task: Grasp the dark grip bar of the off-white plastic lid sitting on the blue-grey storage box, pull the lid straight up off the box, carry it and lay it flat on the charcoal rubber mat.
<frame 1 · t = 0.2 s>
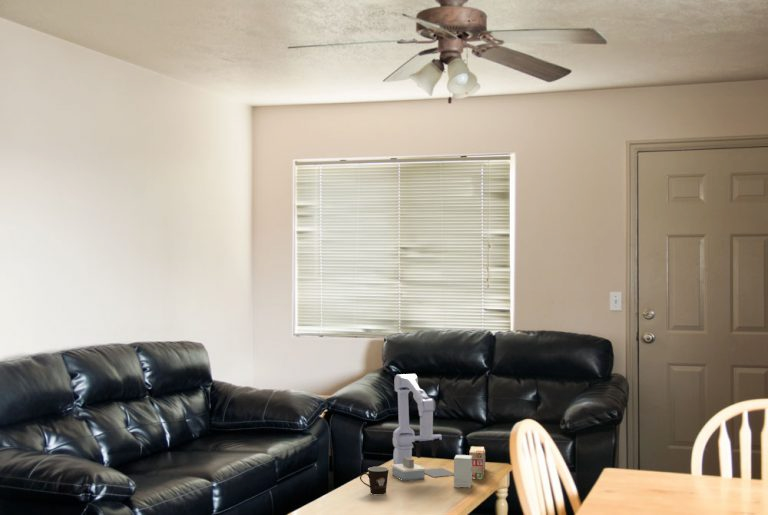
hand: (426, 456, 396), 10 cm above the table, tool pointing down, fingers open, 7 cm apart
box: (408, 477, 400), on the table
mat: (437, 473, 408), on the table
coffee mug: (374, 493, 372), on the table
lid: (408, 468, 400), point 4 cm above the table, touching box
stack of blocks: (477, 474, 408), on the table
supplement box: (462, 486, 385), on the table
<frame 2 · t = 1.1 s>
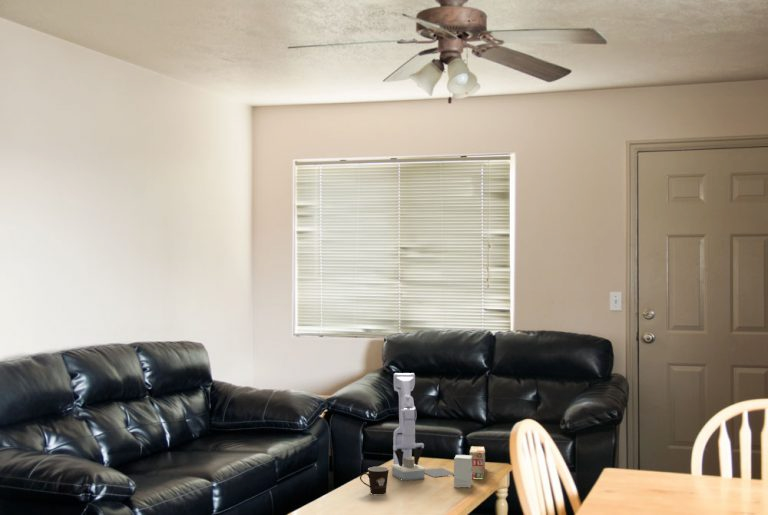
hand: (408, 465, 400), 5 cm above the table, tool pointing down, fingers open, 7 cm apart
nothing on the table moved.
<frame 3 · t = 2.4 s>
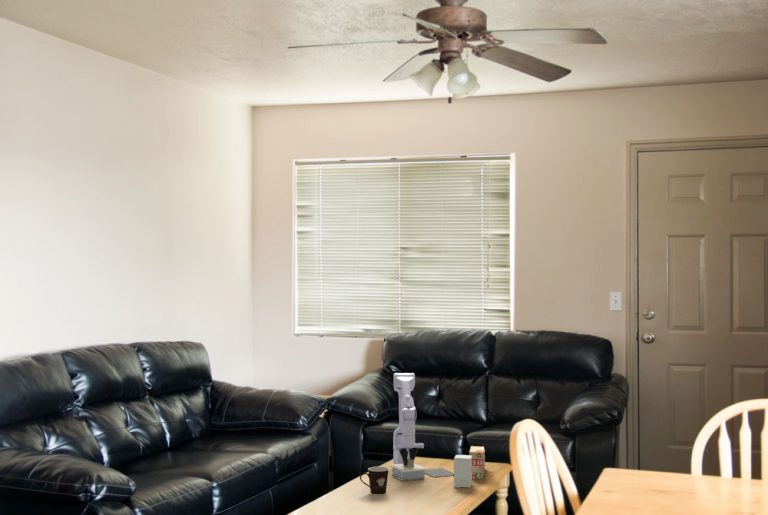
hand: (408, 465, 400), 5 cm above the table, tool pointing down, fingers closed on lid, 2 cm apart
lid: (408, 468, 400), point 4 cm above the table, touching box, gripper
everything else where it was.
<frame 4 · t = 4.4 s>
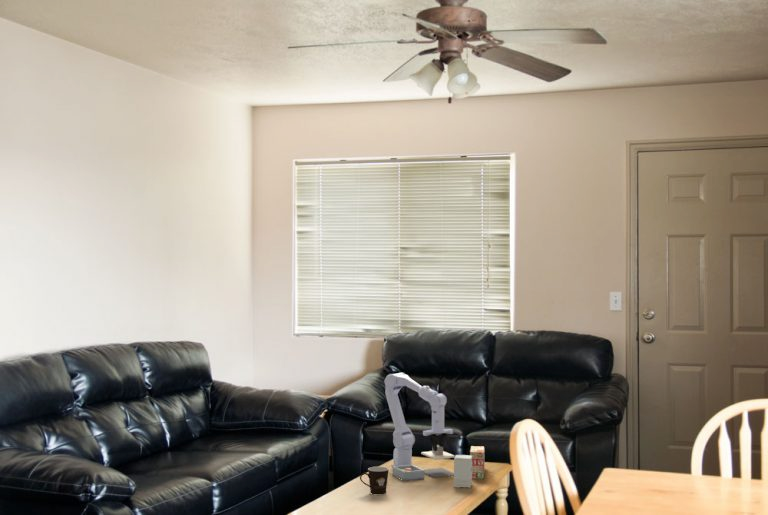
hand: (437, 450, 409), 10 cm above the table, tool pointing down, fingers closed on lid, 2 cm apart
lid: (437, 455, 409), point 8 cm above the table, touching gripper
everything else where it was.
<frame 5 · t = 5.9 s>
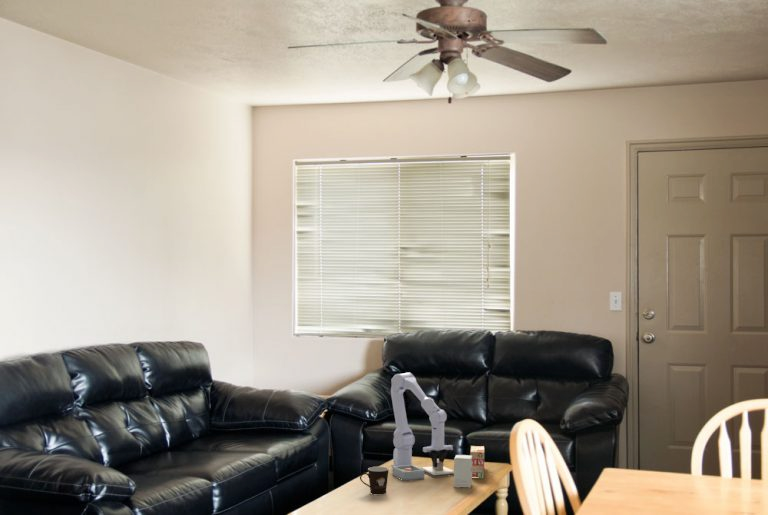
hand: (437, 466, 408), 3 cm above the table, tool pointing down, fingers closed on lid, 2 cm apart
lid: (437, 471, 409), point 1 cm above the table, touching gripper, mat
when the fingers open (3 cm above the table, at t = 6.5 s): lid stays where it is, resting on mat.
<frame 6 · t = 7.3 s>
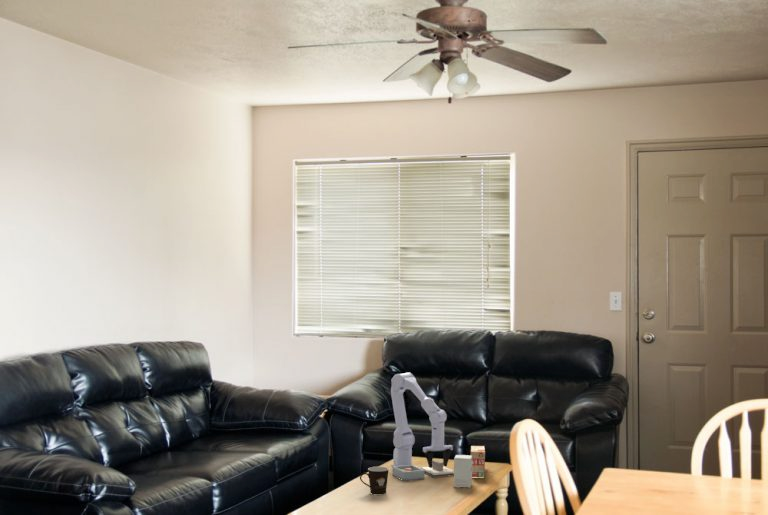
hand: (437, 466, 409), 3 cm above the table, tool pointing down, fingers open, 7 cm apart
lid: (437, 471, 409), point 1 cm above the table, touching mat
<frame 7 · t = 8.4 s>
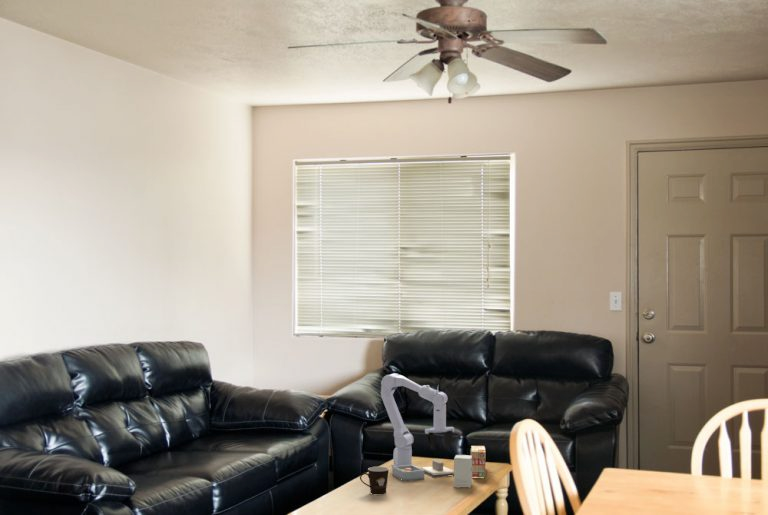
hand: (439, 448, 413), 10 cm above the table, tool pointing down, fingers open, 7 cm apart
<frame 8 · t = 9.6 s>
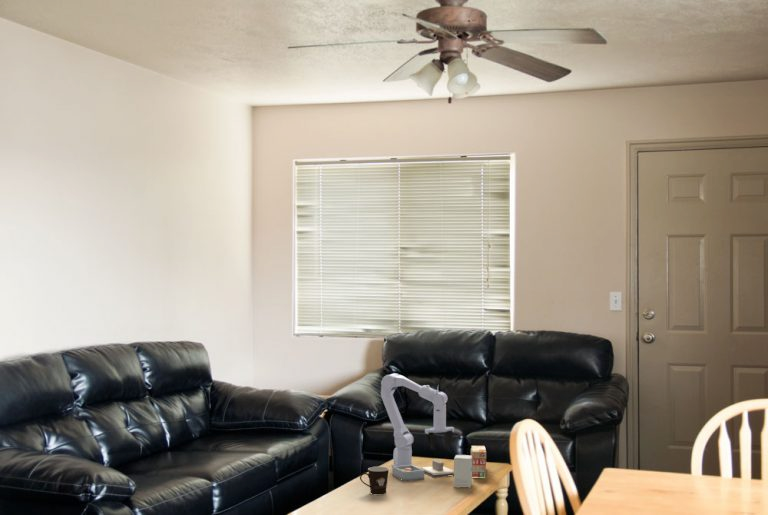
hand: (439, 448, 413), 10 cm above the table, tool pointing down, fingers open, 7 cm apart
at the end: lid inside the target area on the mat (0.0 cm from its centre), point 0.9 cm above the mat's base; lid tilted 0°; lid touching mat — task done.
